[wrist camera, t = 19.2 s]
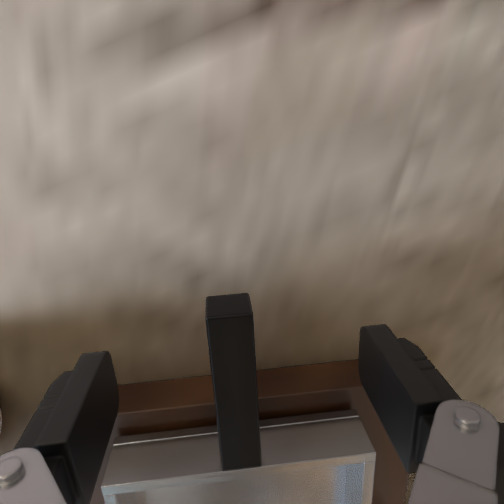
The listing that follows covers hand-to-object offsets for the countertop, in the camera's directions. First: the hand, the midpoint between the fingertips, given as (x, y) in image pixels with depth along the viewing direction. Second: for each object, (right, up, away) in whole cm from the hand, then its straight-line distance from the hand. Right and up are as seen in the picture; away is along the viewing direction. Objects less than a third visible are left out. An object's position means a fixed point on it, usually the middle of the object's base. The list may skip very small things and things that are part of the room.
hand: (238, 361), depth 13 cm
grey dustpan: (0, -6, +6) cm, 9 cm away
